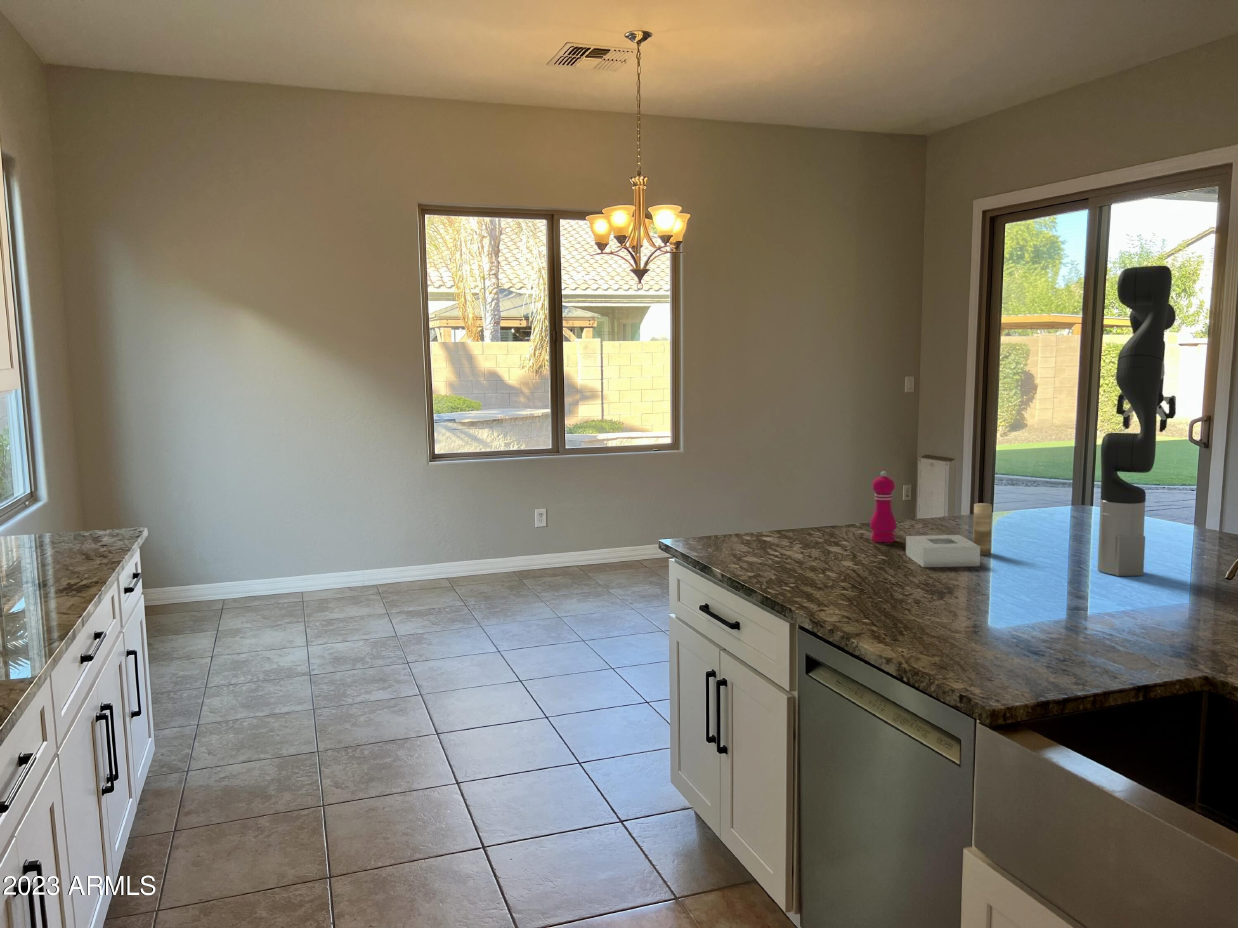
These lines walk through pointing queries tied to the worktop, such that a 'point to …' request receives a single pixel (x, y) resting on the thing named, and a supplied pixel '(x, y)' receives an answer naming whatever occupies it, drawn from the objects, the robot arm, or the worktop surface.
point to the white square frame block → (942, 551)
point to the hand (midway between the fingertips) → (1144, 429)
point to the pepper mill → (883, 510)
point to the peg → (982, 527)
